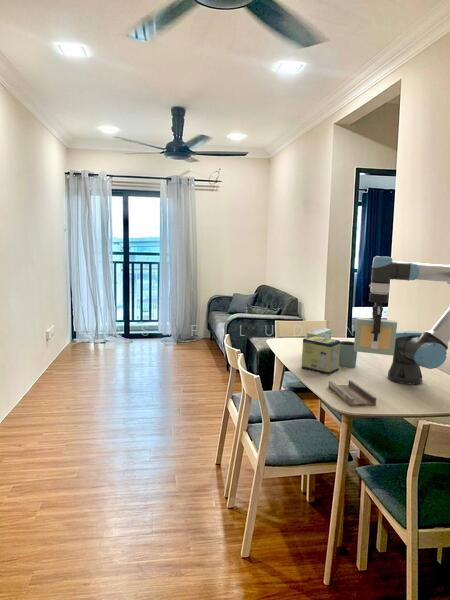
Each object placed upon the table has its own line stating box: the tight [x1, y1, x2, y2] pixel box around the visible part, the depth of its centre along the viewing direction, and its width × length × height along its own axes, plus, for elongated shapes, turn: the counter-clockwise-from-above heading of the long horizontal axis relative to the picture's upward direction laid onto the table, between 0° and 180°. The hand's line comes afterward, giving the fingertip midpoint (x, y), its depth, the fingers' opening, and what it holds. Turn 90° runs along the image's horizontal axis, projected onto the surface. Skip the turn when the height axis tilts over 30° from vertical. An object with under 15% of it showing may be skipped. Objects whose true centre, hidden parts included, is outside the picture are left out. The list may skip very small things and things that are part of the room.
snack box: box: [306, 327, 333, 339], centre depth 238 cm, size 21×6×15 cm, turn 143°
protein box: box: [301, 336, 341, 376], centre depth 215 cm, size 10×16×16 cm
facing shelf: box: [328, 380, 377, 407], centre depth 179 cm, size 11×22×3 cm, turn 9°
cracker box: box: [353, 317, 398, 357], centre depth 184 cm, size 16×5×14 cm, turn 75°
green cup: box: [339, 340, 358, 369], centre depth 223 cm, size 10×10×12 cm
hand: (373, 346), depth 185 cm, fingers closed on cracker box, 5 cm apart
